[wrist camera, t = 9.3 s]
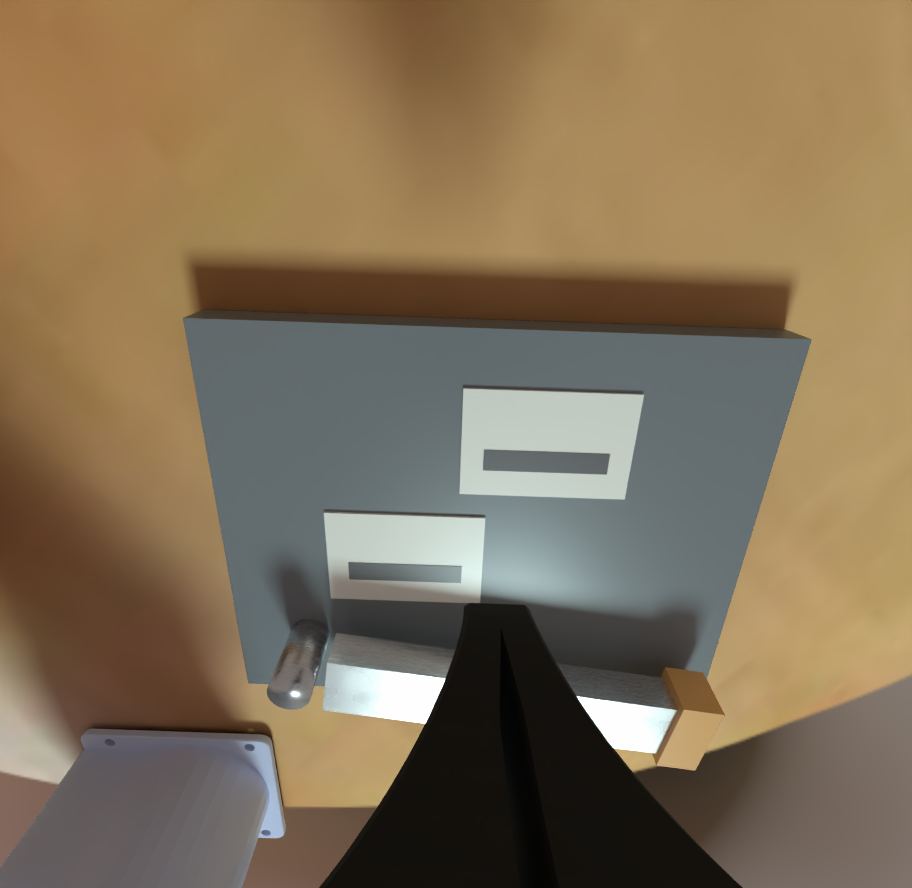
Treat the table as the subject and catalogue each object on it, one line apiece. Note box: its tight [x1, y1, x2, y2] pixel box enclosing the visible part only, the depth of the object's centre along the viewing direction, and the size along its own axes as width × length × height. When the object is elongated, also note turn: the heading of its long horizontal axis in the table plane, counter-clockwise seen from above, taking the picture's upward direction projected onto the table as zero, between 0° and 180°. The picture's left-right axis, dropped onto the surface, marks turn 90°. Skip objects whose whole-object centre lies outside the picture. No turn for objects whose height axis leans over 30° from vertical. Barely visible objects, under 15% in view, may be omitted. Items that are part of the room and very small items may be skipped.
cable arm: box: [323, 633, 725, 770], centre depth 21 cm, size 15×3×2 cm, turn 80°
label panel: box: [183, 310, 812, 709], centre depth 19 cm, size 20×16×4 cm
